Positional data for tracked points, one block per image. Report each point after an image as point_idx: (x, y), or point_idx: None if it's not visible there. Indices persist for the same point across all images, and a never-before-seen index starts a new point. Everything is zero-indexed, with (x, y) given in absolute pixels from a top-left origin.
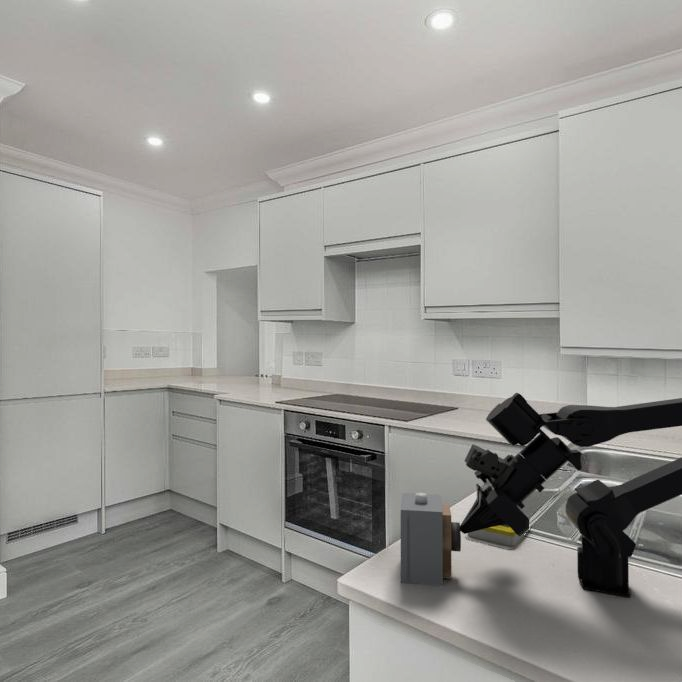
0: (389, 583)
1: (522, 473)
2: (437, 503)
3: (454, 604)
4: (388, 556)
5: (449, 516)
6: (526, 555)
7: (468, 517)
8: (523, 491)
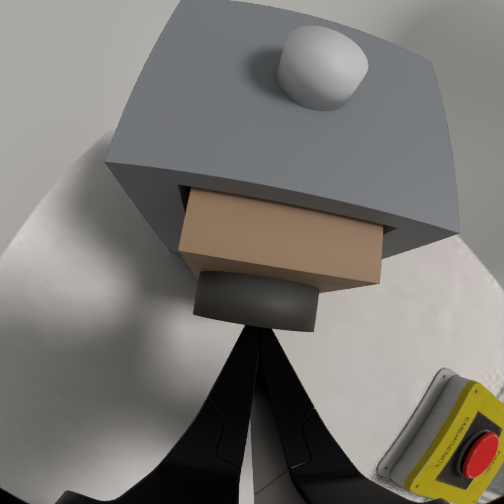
0: None
1: None
2: (293, 164)
3: (84, 260)
4: None
5: (182, 240)
6: None
7: (241, 378)
8: None
